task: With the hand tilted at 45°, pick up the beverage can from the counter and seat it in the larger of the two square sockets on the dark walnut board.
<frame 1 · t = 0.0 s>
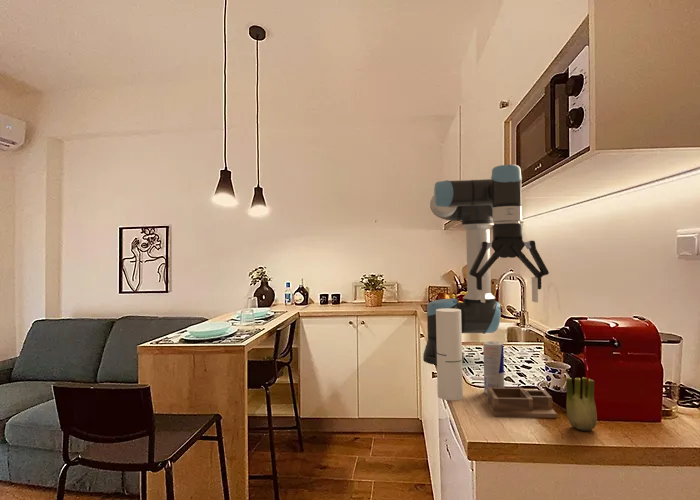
hand: (508, 302, 122), 28 cm above the counter, tool pointing down, fingers open, 13 cm apart
fennel bulb: (582, 429, 106), on the counter
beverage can: (494, 394, 133), on the counter
socket board: (519, 408, 120), on the counter
cylindrical container: (450, 397, 131), on the counter
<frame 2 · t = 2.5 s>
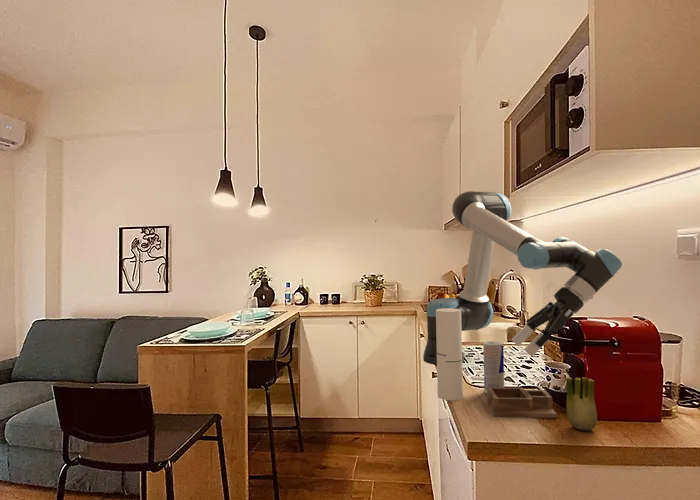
hand: (520, 348, 131), 14 cm above the counter, tool tilted 45°, fingers open, 13 cm apart
nothing on the counter moved.
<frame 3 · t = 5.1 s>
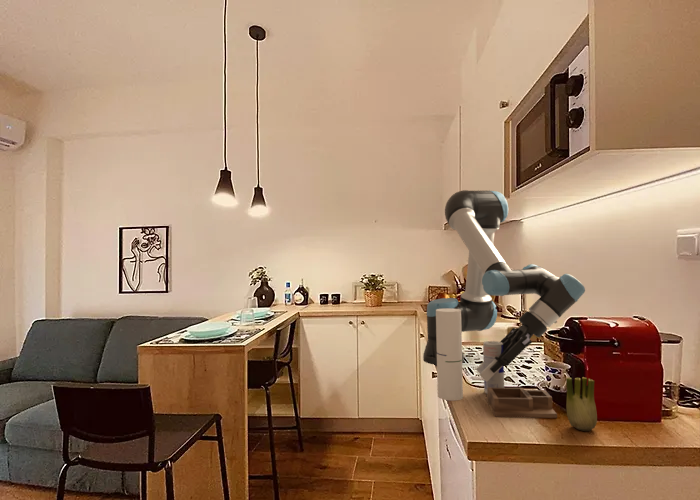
hand: (481, 375, 133), 5 cm above the counter, tool tilted 45°, fingers closed on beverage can, 5 cm apart
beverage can: (494, 394, 133), on the counter, touching gripper
everything else where it was.
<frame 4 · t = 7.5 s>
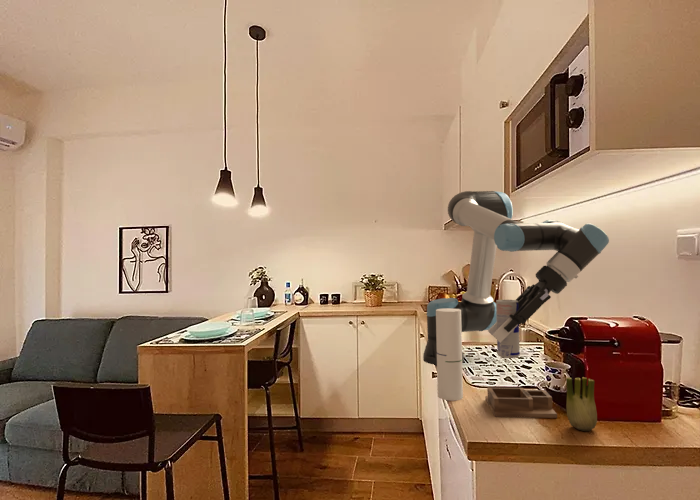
hand: (493, 336, 121), 19 cm above the counter, tool tilted 45°, fingers closed on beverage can, 5 cm apart
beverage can: (508, 357, 121), point 14 cm above the counter, touching gripper
everything else where it was.
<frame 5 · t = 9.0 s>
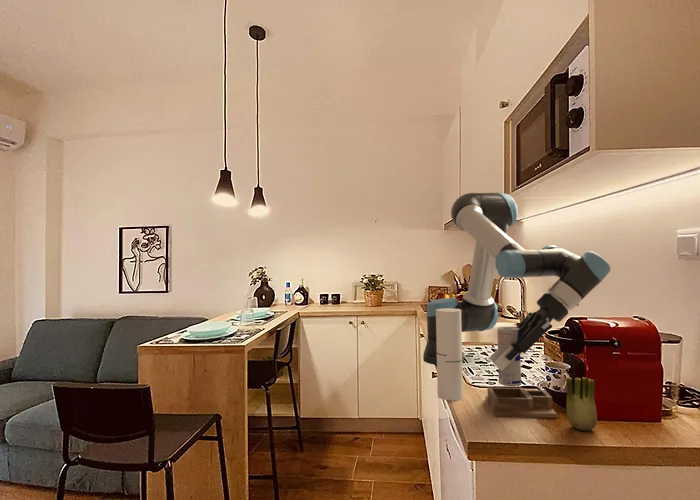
hand: (495, 364, 121), 12 cm above the counter, tool tilted 45°, fingers closed on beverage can, 5 cm apart
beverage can: (510, 385, 120), point 6 cm above the counter, touching gripper
everything else where it was.
when the fingers open (8 cm above the counter, at t = 10.3 s): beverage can drops 1 cm, resting on socket board.
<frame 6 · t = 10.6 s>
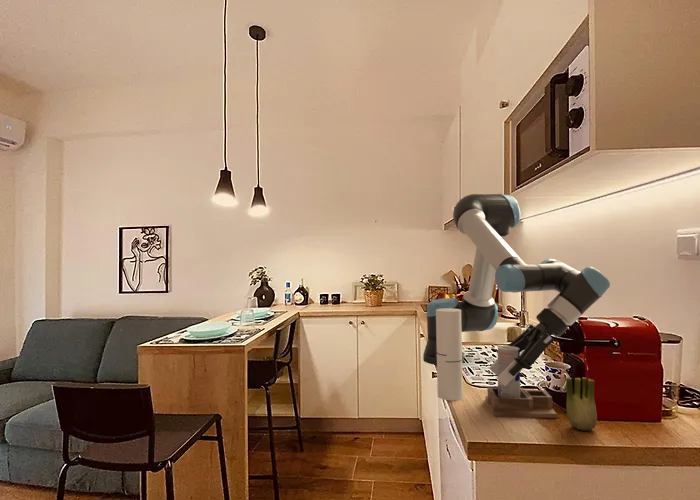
hand: (496, 376, 121), 8 cm above the counter, tool tilted 45°, fingers open, 9 cm apart
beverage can: (509, 404, 121), point 1 cm above the counter, touching socket board
everything else where it was.
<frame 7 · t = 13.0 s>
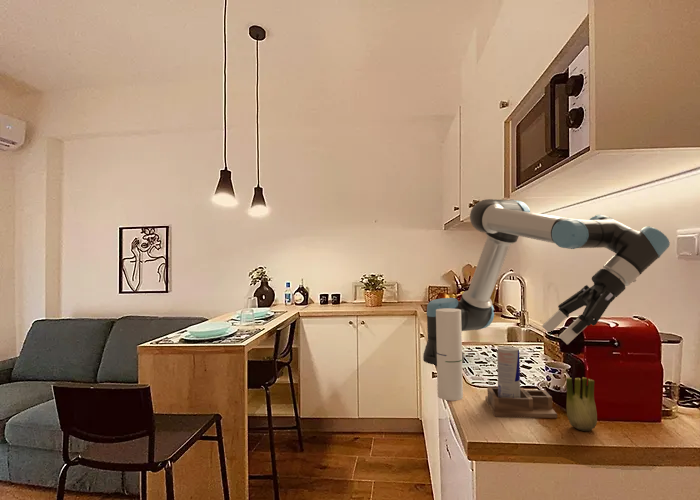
hand: (553, 334, 119), 19 cm above the counter, tool tilted 45°, fingers open, 13 cm apart
nothing on the counter moved.
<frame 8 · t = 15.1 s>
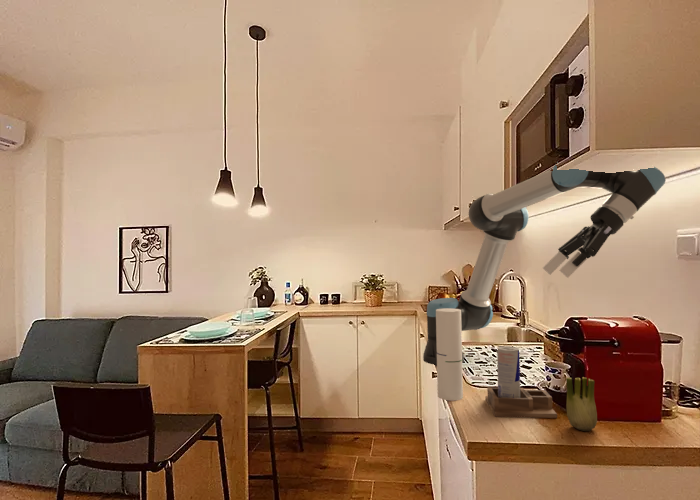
hand: (554, 272, 122), 36 cm above the counter, tool tilted 45°, fingers open, 13 cm apart
nothing on the counter moved.
at the end: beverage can 0.4 cm from the target spot on the socket board, point 0.8 cm above the socket board's base; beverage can tilted 0°; the gripper is holding nothing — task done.
